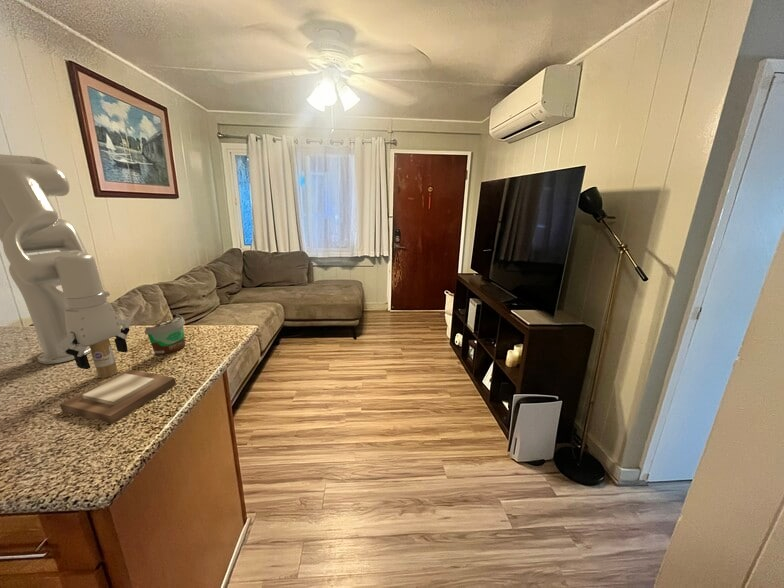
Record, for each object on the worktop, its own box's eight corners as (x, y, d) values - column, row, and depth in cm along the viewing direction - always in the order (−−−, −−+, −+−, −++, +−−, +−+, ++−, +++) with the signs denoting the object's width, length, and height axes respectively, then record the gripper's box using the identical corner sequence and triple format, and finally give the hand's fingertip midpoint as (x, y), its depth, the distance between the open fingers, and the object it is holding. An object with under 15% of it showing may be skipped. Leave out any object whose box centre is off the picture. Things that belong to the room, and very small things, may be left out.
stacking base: (62, 411, 76) (58, 400, 75) (131, 375, 91) (128, 366, 90) (112, 423, 72) (108, 412, 71) (176, 384, 86) (173, 374, 86)
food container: (167, 359, 99) (160, 329, 96) (151, 357, 101) (143, 327, 98) (198, 342, 111) (192, 314, 108) (183, 340, 112) (177, 313, 109)
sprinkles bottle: (96, 380, 88) (82, 335, 84) (99, 372, 92) (86, 329, 88) (117, 375, 91) (105, 331, 87) (120, 368, 94) (108, 325, 90)
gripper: (111, 291, 94) (126, 344, 99) (35, 310, 78) (57, 373, 83) (131, 292, 92) (145, 347, 97) (56, 313, 76) (78, 377, 81)
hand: (104, 359), depth 90 cm, fingers open, 9 cm apart
